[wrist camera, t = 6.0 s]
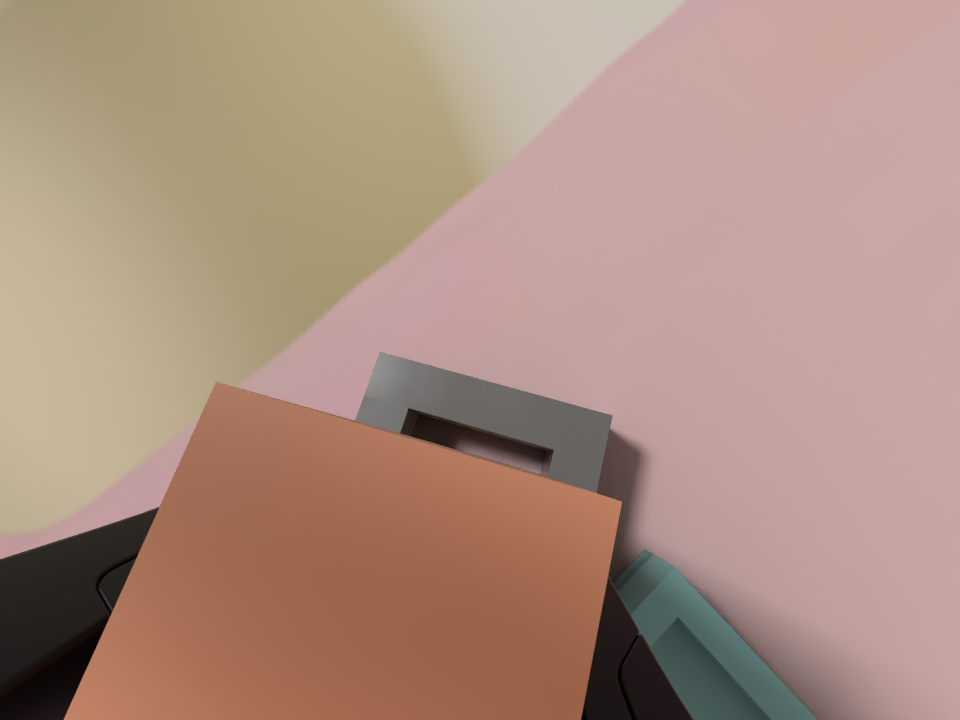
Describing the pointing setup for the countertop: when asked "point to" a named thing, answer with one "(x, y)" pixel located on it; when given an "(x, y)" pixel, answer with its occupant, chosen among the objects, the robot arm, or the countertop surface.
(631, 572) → the tray
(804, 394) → the countertop surface
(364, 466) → the pin
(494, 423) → the grey square flat frame
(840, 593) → the countertop surface
